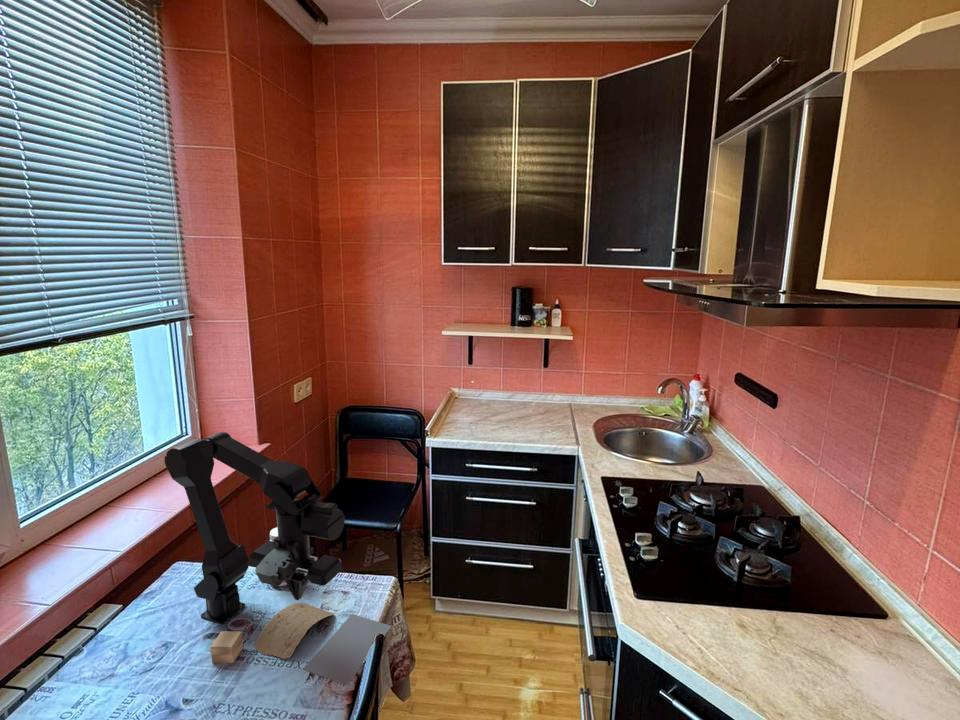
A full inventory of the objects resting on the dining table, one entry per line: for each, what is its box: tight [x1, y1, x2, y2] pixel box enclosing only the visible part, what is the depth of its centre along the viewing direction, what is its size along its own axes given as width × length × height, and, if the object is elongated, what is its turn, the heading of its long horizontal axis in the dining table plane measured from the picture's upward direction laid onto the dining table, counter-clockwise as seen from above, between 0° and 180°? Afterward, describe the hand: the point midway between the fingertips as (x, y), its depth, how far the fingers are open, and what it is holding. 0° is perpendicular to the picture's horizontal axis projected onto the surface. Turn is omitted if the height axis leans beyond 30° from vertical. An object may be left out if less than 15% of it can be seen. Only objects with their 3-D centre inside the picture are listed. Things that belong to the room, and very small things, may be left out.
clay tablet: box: [253, 602, 335, 659], centre depth 103 cm, size 14×10×3 cm
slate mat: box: [302, 613, 393, 686], centre depth 99 cm, size 10×16×1 cm, turn 160°
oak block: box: [210, 630, 244, 664], centre depth 96 cm, size 4×4×4 cm
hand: (298, 598), depth 101 cm, fingers closed
